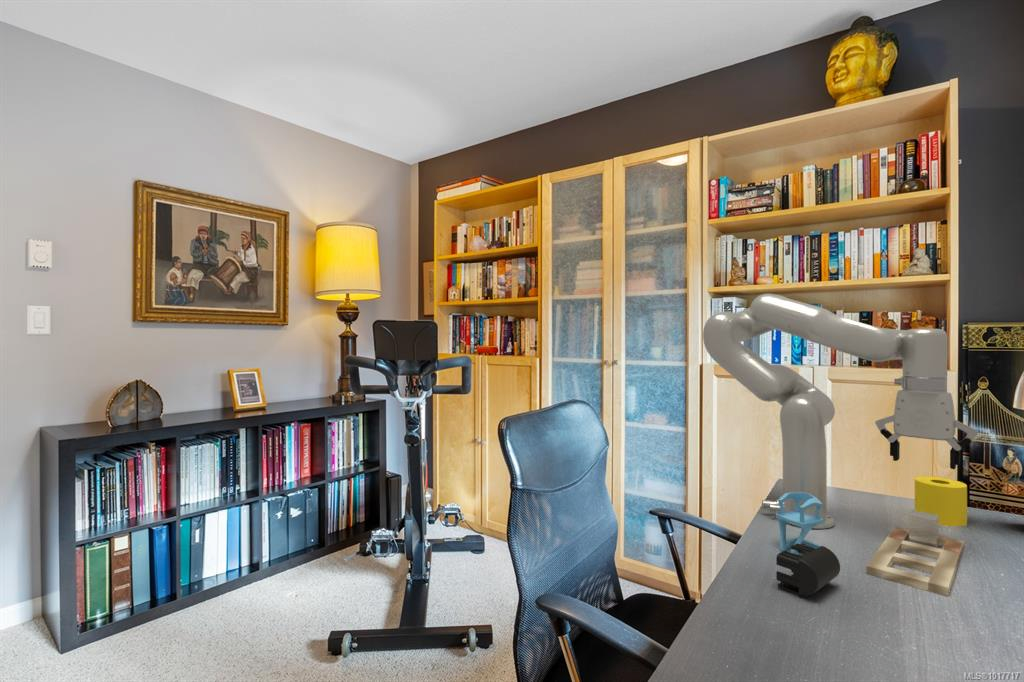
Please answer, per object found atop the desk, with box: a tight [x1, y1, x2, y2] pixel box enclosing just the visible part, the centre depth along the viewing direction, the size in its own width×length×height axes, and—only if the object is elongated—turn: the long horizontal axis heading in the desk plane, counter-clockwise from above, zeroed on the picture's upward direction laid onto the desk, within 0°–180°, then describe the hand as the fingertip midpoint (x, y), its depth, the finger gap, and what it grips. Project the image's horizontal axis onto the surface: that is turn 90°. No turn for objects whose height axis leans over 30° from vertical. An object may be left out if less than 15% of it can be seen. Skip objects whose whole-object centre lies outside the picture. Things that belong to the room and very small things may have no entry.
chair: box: [775, 492, 824, 554], centre depth 108 cm, size 8×8×12 cm
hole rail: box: [865, 525, 965, 597], centre depth 103 cm, size 12×30×2 cm, turn 134°
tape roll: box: [914, 475, 968, 527], centre depth 126 cm, size 10×10×9 cm
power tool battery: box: [775, 543, 841, 598], centre depth 92 cm, size 10×7×7 cm
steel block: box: [908, 510, 940, 548], centre depth 109 cm, size 4×4×7 cm
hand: (923, 463), depth 109 cm, fingers open, 9 cm apart
